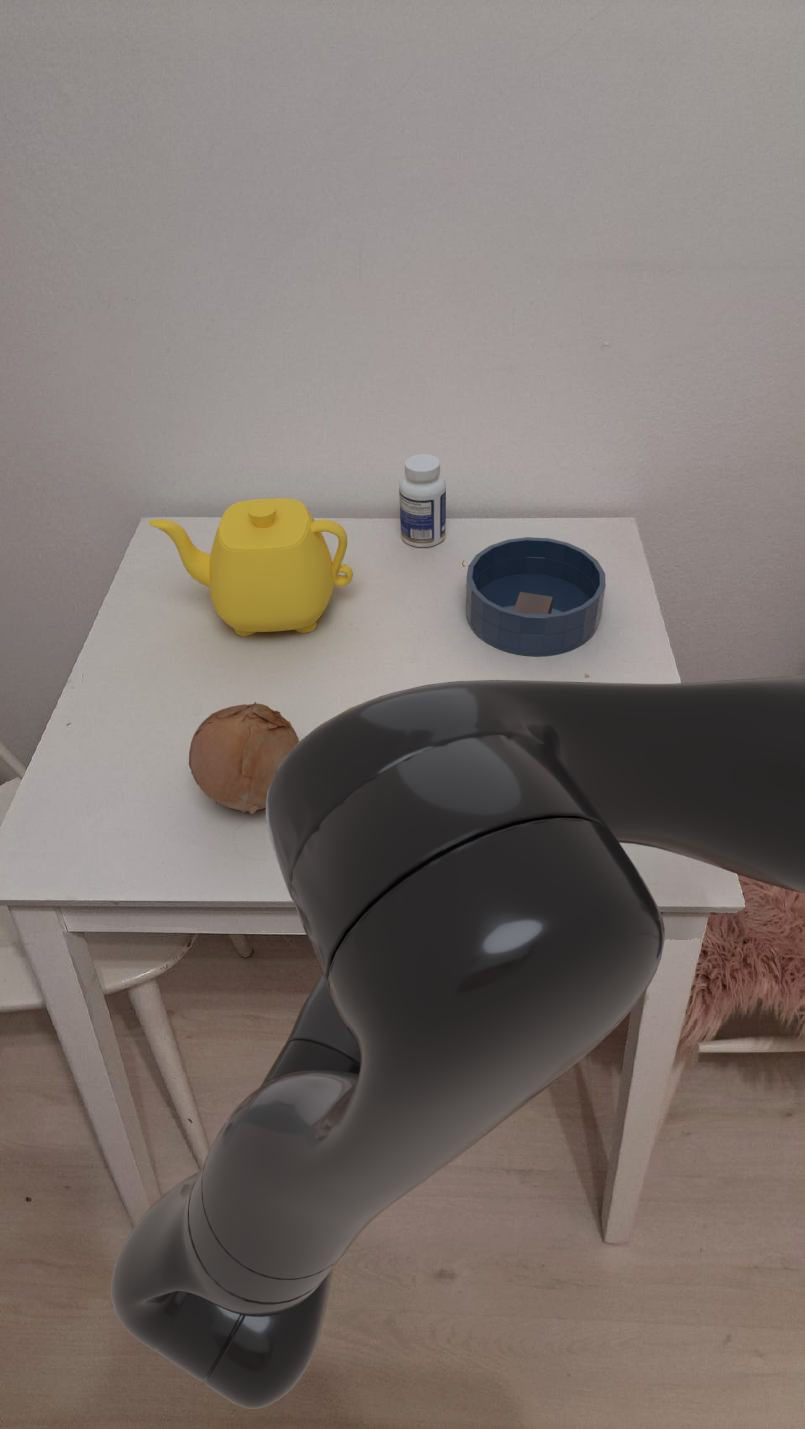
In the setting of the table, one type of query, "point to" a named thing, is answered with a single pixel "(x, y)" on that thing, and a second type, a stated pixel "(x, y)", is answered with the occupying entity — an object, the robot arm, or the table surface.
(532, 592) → the bowl
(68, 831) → the table surface
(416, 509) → the pill bottle
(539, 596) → the block
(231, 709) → the onion
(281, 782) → the robot arm
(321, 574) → the teapot
